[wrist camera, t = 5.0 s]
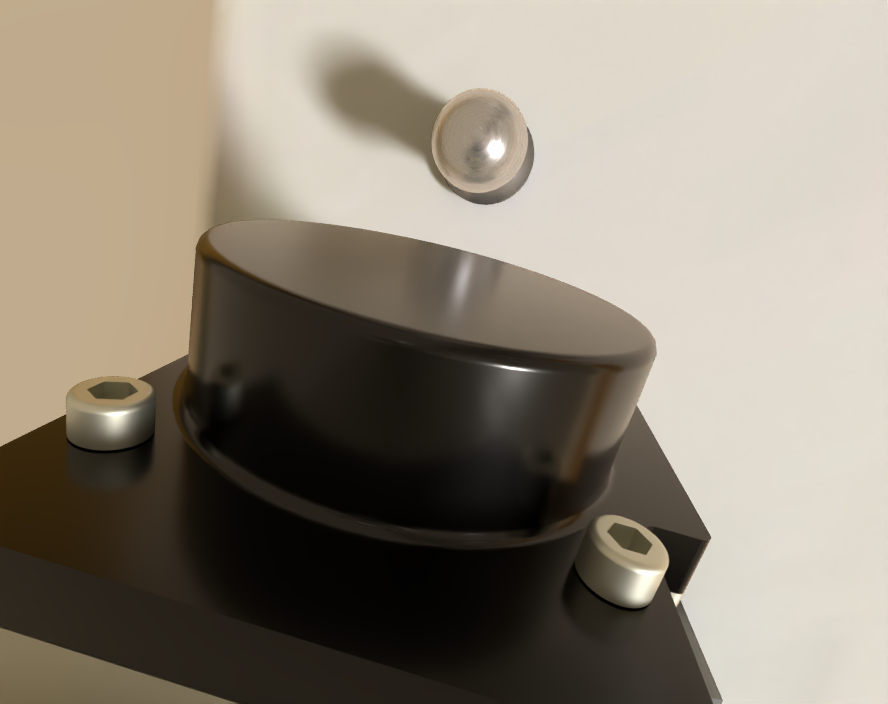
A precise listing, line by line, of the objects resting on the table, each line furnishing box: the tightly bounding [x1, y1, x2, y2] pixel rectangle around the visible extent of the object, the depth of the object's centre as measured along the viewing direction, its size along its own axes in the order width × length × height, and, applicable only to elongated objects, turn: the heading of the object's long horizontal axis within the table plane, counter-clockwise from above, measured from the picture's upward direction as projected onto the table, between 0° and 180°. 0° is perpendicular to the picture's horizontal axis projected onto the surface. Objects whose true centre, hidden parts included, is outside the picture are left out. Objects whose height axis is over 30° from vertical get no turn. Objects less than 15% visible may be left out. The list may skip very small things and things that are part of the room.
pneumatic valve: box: [0, 220, 713, 704], centre depth 9 cm, size 6×12×12 cm, turn 167°
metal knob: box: [431, 88, 534, 205], centre depth 15 cm, size 3×3×6 cm
